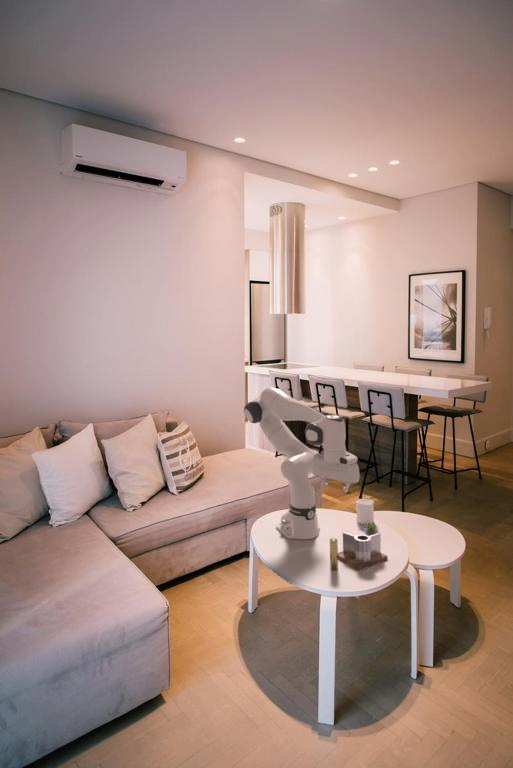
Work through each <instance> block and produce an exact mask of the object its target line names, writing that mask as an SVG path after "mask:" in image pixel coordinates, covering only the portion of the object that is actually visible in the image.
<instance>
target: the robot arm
mask: <svg viewBox="0 0 513 768" xmlns="http://www.w3.org/2000/svg"><path fill="white" fill-rule="evenodd" d="M243 408H244V409H243V413H244V416H245V418H246V419H247V420H248V421H249V422H250V423H252V424H258V423H259V426H260V429H261V431H262V432H263V434H264V436H265V437H266V438H267V440H268V441H269V443H270V444H271V445H272V447H274V449H275V450H276V452H277V453H278V454H281V455H283V456H285V457H287V458H286V459H285V460H284V461H283V462H282V463H281V464H280V473H281V475H282V476H283V478H284V479H286V480H287V482H288V485H289V488H290V489H289V490H290V495H291V496H290V503H288V507H289V509H288V510H287V511H286V512H285V513H283V514H282V515H281V518H280V522H279V523H278V524H276V527H275V528H276V529H277V530H278V531H280V533H281V534H283V536H284V537H286V538H287V539H289V540H294V539H296V540H311V539H315V538H317V537H318V536H319V535H320V532H319V531H320V530H321V527H320V526H319V523H318V522H319V521H318V514H317V507H316V506H317V505H316V502H315V501H316V500H315V497H316V495H315V488H314V486H313V485H311V483H310V481H309V480H310V479H309V476H310V475H311V474H313V476H315V477H319V479H320V482H321V483H322V488H324V489H328V488H329V482H327V481H326V479H329V480H335V481H338V482H339V481H340V482H343V483H344V484H345V486H344V487H343V488H342V492H343V493H345V494H347V493H349V487H350V486H351V485H352V484H356V483H358V482H359V481H360V477H361V476H360V467H359V465H358V463H357V462H358V459H359V458H358V457H357V456H356V455H354V454H352V453H350V452H348V450H347V446H346V438H347V437H346V435H347V434H346V431H347V430H346V423H345V420H344V418H343V417H342V416H340V415H337V414H328V415H326V414H325V413H323V412H321V411H319V410H317V409H316V408H313V407H311V406H309V405H307V404H305V403H303V402H300V401H299V400H297V399H295V398H293V397H292V396H290V395H289V394H287V393H285V392H284V391H283V390H281V389H280V388H275V387H272V386H269V387H267V388H264V389H263V390H262V392H261V394H260V395H259V396H257V397H256V398H255V399H253V400H252V401H249V402H247V404H246V405H245V406H244V407H243ZM284 421H285V422H286V421H287V422H291V421H301V422H302V421H303V422H307V423H308V424H307V425H306V427H305V430H304V436H305V440H306V441H307V443H309V444H310V445H311V446H322V447H323V453H319V452H318V451H317V450H314V449H311V448H309V447H308V446H307V445H306V444H304V443H303V442H301V441H300V440H299V439H298V438H297V437H296V436H295V435H294V433H293V432H292V431H291V429H290V428H289V427H288V426H287V425H286V424H285V422H284Z"/></svg>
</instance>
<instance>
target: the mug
mask: <svg viewBox="0 0 513 768" xmlns="http://www.w3.org/2000/svg"><path fill="white" fill-rule="evenodd" d="M374 503H375V502H374V501H373V500H372V499H369V498H360V499H357V500H356V505H355V510H356V521H357V523H358V524H360V523H361V524H360V525H366V524H367V523H372V524H374V519H375V518H374V517H375V515H374V511H375V510H374V505H375V504H374Z"/></svg>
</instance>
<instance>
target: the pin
mask: <svg viewBox="0 0 513 768" xmlns="http://www.w3.org/2000/svg"><path fill="white" fill-rule="evenodd" d="M338 551H339V549H338V538H334V537H332V538H330V539H329V560H330V561H329V562H330V563H329V564H330V565H329V568H330V570H331V571H338V570H339V559H338V553H339V552H338Z"/></svg>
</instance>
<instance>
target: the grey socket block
mask: <svg viewBox="0 0 513 768" xmlns="http://www.w3.org/2000/svg"><path fill="white" fill-rule="evenodd" d="M342 551H343V552H345V553H348V554H350V555H353V556H355V560H356V561H358V562H361V563H368V562H370V561H371V556H374V555H376V554H379V553H382V552H381V551H382V549H381V533H380V532H379V533H377V534H374V535H371V536H368V535H366V534H364V533H362V534H356V535H354V534H351V533H349V532H345V531H343V532H342Z"/></svg>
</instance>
